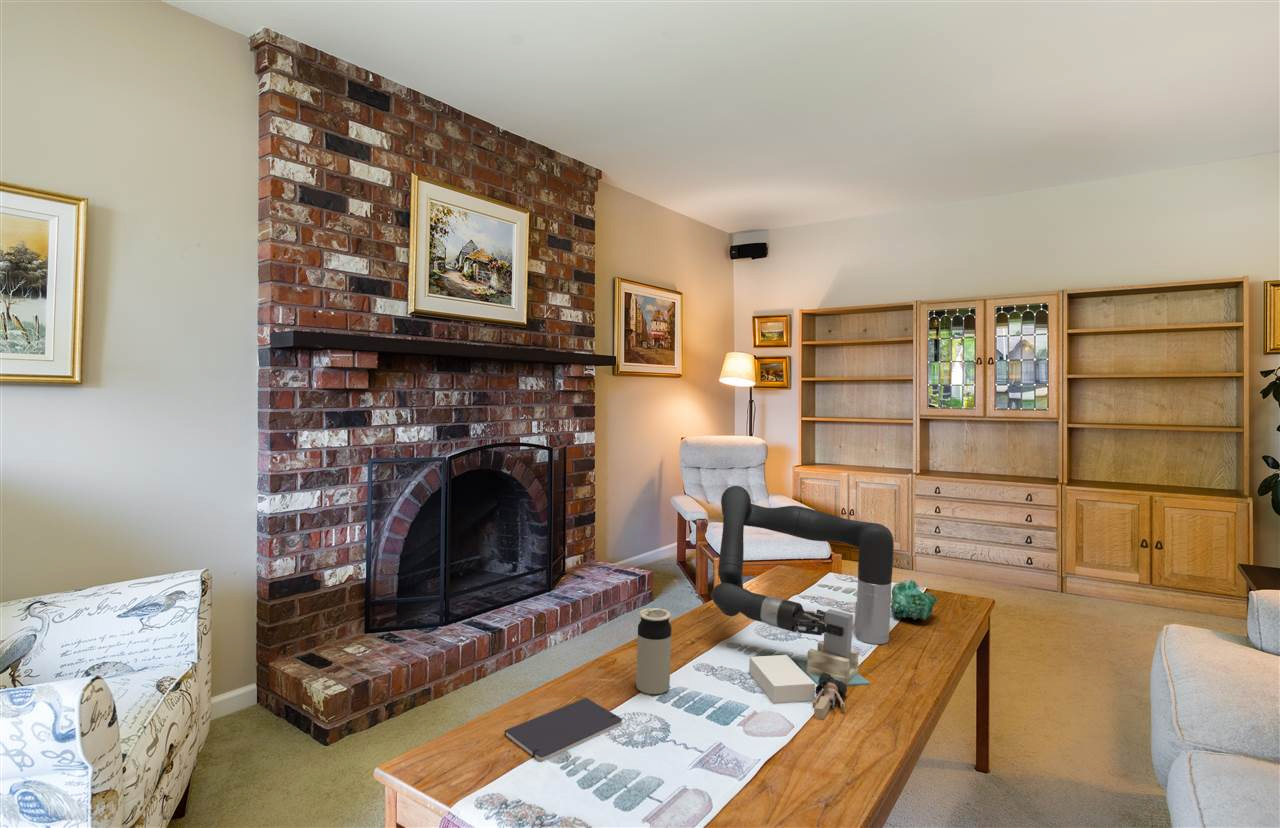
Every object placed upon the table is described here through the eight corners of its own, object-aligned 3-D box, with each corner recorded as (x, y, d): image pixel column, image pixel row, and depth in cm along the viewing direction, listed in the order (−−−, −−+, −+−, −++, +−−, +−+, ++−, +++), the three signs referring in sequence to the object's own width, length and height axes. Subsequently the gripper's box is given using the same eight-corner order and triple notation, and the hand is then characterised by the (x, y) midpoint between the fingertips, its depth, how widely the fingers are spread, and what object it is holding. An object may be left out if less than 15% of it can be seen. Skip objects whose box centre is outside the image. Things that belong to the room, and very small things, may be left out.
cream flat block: (749, 672, 163) (749, 656, 163) (786, 670, 165) (786, 654, 165) (773, 703, 148) (774, 686, 148) (814, 700, 150) (814, 683, 149)
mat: (797, 664, 169) (797, 662, 169) (843, 661, 172) (843, 660, 171) (820, 687, 156) (820, 685, 156) (869, 684, 159) (869, 682, 159)
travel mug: (676, 687, 154) (678, 613, 153) (654, 699, 148) (656, 622, 147) (651, 676, 159) (653, 605, 158) (629, 687, 153) (631, 612, 153)
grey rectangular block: (822, 666, 164) (825, 612, 163) (827, 662, 166) (829, 609, 166) (845, 673, 160) (848, 617, 160) (850, 669, 163) (852, 614, 162)
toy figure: (844, 726, 140) (848, 692, 154) (841, 698, 139) (846, 667, 153) (810, 723, 142) (817, 690, 156) (808, 695, 142) (815, 665, 156)
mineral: (873, 606, 217) (875, 577, 216) (917, 606, 218) (919, 577, 218) (901, 627, 198) (903, 595, 198) (949, 626, 200) (951, 594, 200)
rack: (806, 672, 163) (807, 651, 163) (820, 661, 170) (821, 640, 170) (845, 684, 157) (846, 662, 157) (858, 672, 164) (859, 651, 164)
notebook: (585, 704, 146) (504, 737, 131) (586, 697, 146) (504, 730, 131) (623, 726, 137) (540, 765, 122) (623, 719, 137) (540, 757, 122)
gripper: (770, 606, 166) (836, 623, 156) (793, 593, 177) (855, 608, 167) (769, 634, 167) (834, 653, 156) (792, 620, 178) (854, 636, 167)
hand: (845, 630), depth 162 cm, fingers closed on grey rectangular block, 3 cm apart
